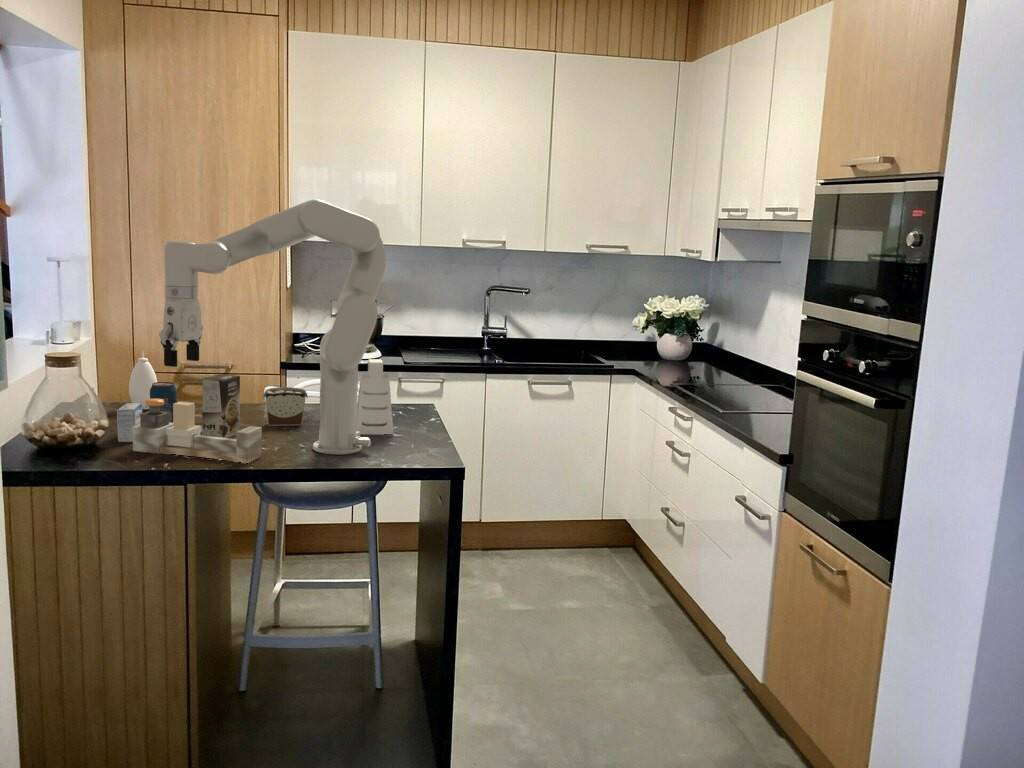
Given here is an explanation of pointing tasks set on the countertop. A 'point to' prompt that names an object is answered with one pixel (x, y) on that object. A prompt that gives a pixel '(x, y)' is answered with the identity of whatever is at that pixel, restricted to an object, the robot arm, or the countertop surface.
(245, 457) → the slide rail
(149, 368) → the sauce bottle
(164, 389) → the soda can
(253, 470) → the countertop surface
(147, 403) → the button
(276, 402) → the food container
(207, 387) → the coffee box
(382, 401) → the grater
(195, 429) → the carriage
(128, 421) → the medicine box
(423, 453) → the countertop surface
